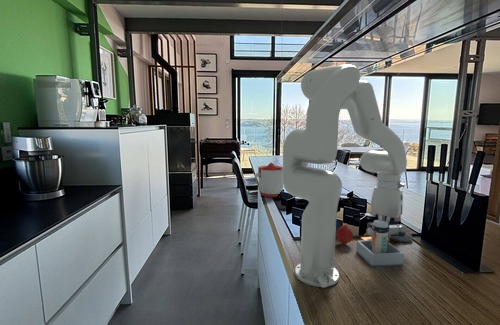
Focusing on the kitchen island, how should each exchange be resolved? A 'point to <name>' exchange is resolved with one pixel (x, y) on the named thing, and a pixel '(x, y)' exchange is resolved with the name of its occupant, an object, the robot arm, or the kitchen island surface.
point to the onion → (344, 234)
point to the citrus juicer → (270, 180)
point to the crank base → (396, 238)
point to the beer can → (379, 237)
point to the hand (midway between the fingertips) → (383, 233)
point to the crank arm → (390, 229)
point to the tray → (380, 254)
